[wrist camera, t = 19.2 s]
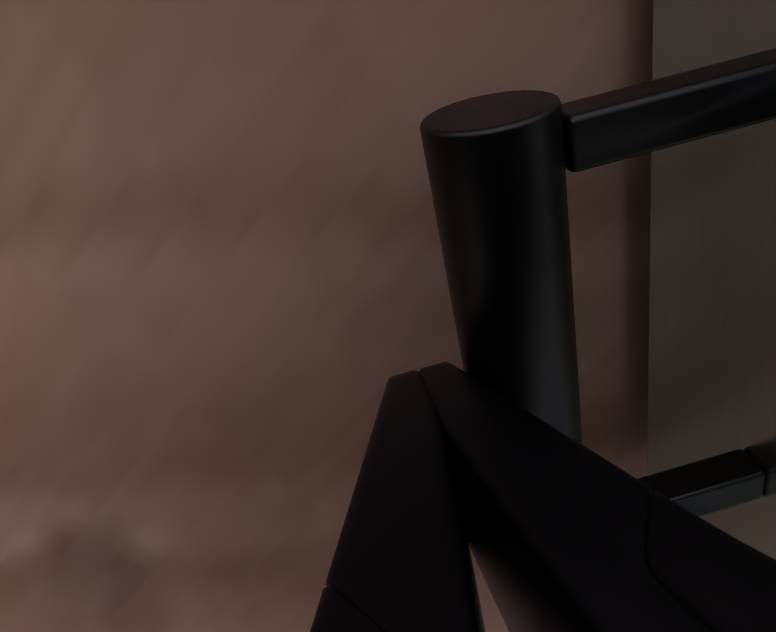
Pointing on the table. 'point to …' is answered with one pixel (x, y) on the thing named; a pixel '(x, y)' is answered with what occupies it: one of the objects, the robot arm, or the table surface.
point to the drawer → (667, 250)
